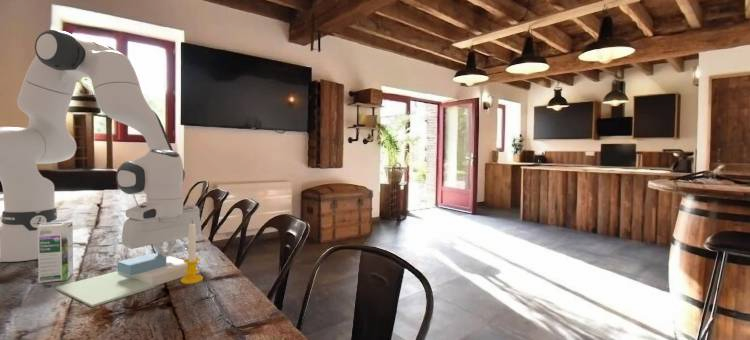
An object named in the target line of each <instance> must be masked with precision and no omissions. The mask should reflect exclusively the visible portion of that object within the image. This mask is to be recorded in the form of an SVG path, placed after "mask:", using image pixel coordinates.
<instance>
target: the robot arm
mask: <svg viewBox="0 0 750 340" xmlns="http://www.w3.org/2000/svg"><path fill="white" fill-rule="evenodd" d="M34 50H35V57H34V58H33V59H32V61H31V63H30V64H29V67H28V68H27V70H26V72H25V74H24V75H25V76H24V79H23V81H22V85H21V87H20V91H19V93H18V97H17V99H16V104H17V107H18V109H19V110H20V111H21V112H22V113H23V114H25V115H26V116H28V125H27V126H26V127H19V126H0V183H1V186H2V192H3V193H2V194H3V195H2V196H3V207H4V209H3V211H2V213H1V226H0V263H5V262H7V263H13V262H24V261H25V262H26V261H33V260H38V237H37V227H38V226H39V225H40V224H42V223H48V222H58V221H57V219H58V209H57V207H55V206H56V205H55V204H56V203H55V201H56V200H55V198H56V197H55V183H54V182H53V181H52V180H50V179H49V178H47V177H44V176H43V175H42V174H41V172H40V171H39V170H38V165H39V164H41V165H43V164H46V165H47V164H56V163H60V162H65V161H68V160H70V159H71V158H73V157H74V155H75V154H76V151H77V142H76V139H74V137H73V136H72V134H70V132H69V130H68V128H67V114H68V110H69V108H70V104H71V101H72V97H73V95H74V92H75V89H76V86H77V82H78V81H79V80H80V79H81V78H82V79H83V78H89V80H91V83H92V88H93V93H94V97H95V101H96V103H97V105H98V108H99V109H100V111H101V112H102V113H103V114H104V115H105V116H107V118H110V119H112V120H114V121H116V122H118V123H120V124H123V125H125V126H128V127H130V128H132V129H133V130H135V131H137V132H138V133H139V134H141V135H142V137H143V138H144V140H145V142H146V144H147V146H148V149H149V150H148V151H147V152H146V154H145V155H143V156H141V157H139V158H135V159H133V160H129V161H124V162H123V163H122V164H120V166H119V167H118V168H117V170H116V174H115V182H116V185H117V187H118V188H119V190H120V191H121V192H122V193H124V194H126V195H133V196H134V195H146V197H145V201H144V202H141V203H139V204H137V205H134V206H133V207H129V208H128V209H126V210H125V217H126V218H127V219H126V220H125V222H124V223H123V226H122V231H121V232H122V234H121V243H122V245H123V246H124V247H125V248H126V249H130V250H134V249H139V248H143V247H149V246H153V248H154V249H155V250H156V251H157V254H158V255H162V256H165V257H169V256H171V257H173V256H172V255H173V249H174V248H175V246H176V244H177V240H181V239H185V238H189V224H190V223H191V224H192V222H193V224H195V227H196V236H199V235H200V233H201V231H202V223H201V216H200V208H199V206H197V205H196V204H188V205H187V204H185V205H184V195H183V190H182V188H183V184H184V181H185V174H186V173H185V169H184V166H183V160H182V157H181V154H179V153H178V152H176V151H174V150H173V149H174V148H173V147H172V144H171V141H170V140H169V138H168V136H167V133H166V131H165V127H164V125H163V123H162V121H161V119H160V117H159V116H158V114H157V113H156V112H155V111H154V110H153V108H152V107H151V106H150V105H149V103H148V101H147V100H146V98H145V96H144V94H143V92H142V89H141V86H140V85H141V84H140V81H139V78H138V75H137V73H136V71H135V68H134V67H133V64H132V62H131V61H130V59H129V57H128V56H127V55H125V54H124V53H121V52H119V51H118V50H117V49H115V48H113V47H112V46H109V45H108V46H107V45H105V44H103V43H101V42H99V41H96V40H93V39H90V38H88V37H87V38H86V37H83V36H79V35H75V34H71V33H69V32H67V31H63V30H58V29H47V30H44V31H43V32H41V33H40V34H39V35H38V36H37V38H36V40H35V44H34ZM164 243H166V244H167V246H166V248H165V249H163V247H164Z"/></svg>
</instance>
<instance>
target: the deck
mask: <svg viewBox="0 0 750 340" xmlns="http://www.w3.org/2000/svg"><path fill="white" fill-rule="evenodd" d="M184 260H185V259H182V258H177V257H175V256H169V257H166V266H164V267H160V268H157V269H153V270H150V271H146V272H142V273H139V274H135V275H131V276H130V275H127V274H125V275H127V276H130V277H133V278H135V279H138V280H141V281H143V282H146V283H149V284H151V285H154V287H155V286H158V285H162V284H165V283H168V282H171V281H174V280H177V279H182V278H183V277H185V276H188V275H187V274H185V271H187V270H188V269H187V266H188V264H187V263H185V262H184ZM117 272H119V271H118V270H117ZM119 273H122V272H119ZM122 274H124V273H122Z"/></svg>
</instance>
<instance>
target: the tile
mask: <svg viewBox="0 0 750 340" xmlns="http://www.w3.org/2000/svg"><path fill="white" fill-rule="evenodd" d="M164 266H166V257H165V256H162V255H158V253H155V252H153V253H149V254H145V255H144V254H143V255H139V256H135V257H131V258H127V259H123V260H119V261H117V272H118V271H119V272H122V273H124V274H127V275H130V276H131V275H135V274H139V273H142V272H146V271H150V270H153V269H157V268H160V267H164Z"/></svg>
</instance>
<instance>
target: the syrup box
mask: <svg viewBox="0 0 750 340" xmlns="http://www.w3.org/2000/svg"><path fill="white" fill-rule="evenodd" d="M73 224H74V223H73V220H70V221H57V222H48V223H42V224H40V225H39V226H38V227H37V237H38V259H37V260H38V261H37V262H38V263H37V264H38V267H37V268H38V269H37V270H38V271H37V273H38V276H37V278H38V279H37V282H38V284H44V283H51V282H61V281H62V282H64V281H68V280H69V278H71V276H72V275H73V274H74V241H73V240H74V235H73V233H74V230H73V228H74V227H73Z"/></svg>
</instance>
